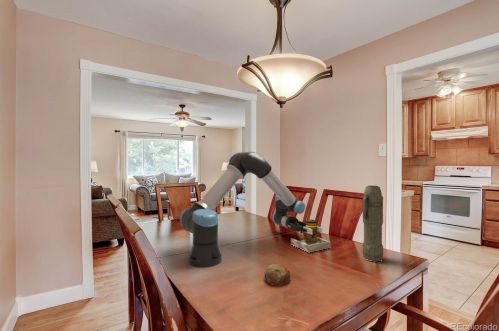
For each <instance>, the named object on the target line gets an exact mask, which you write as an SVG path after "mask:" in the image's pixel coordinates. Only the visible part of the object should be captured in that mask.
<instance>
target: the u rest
mask: <svg viewBox="0 0 499 331" xmlns="http://www.w3.org/2000/svg"><path fill="white" fill-rule="evenodd" d="M317 241H319V243H316V244H312V245H311V244H308V243H305V242H302V241H301V240H297V239H295V238H293V237H291V238H290V246H291V245H293V246H292V247H294V246H295V247H294V248H296V247H297V248H296V249H298V248H300V249H302V250H304V251H303V252H305V251H306V252H305V253H307V252H308V253H307V254H311V253H310V252H313V253H315V252H314V251H318V252H320V251H319V250H322V251H324V250H323V249H327V250H329V249H328V248H330V249H331V241H329V240H326V239H325V238H321V237H318V236H317ZM300 249H299V250H300ZM302 250H301V251H302Z"/></svg>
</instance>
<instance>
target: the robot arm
mask: <svg viewBox="0 0 499 331" xmlns="http://www.w3.org/2000/svg"><path fill="white" fill-rule="evenodd" d="M247 174H253V175H255V177H257V178H258V179H259V180H262V181H263V182H264V183H265V184H266V186H267V187H268V188H269V189H271V191H272V192H273V193H274V194H275V198H274V206H275V207H274V213H273V214H272V217H271V220H272V223H274V224H276V225H277V226H281V227H284V228H286V229H289V230H293V231H295V232H297V233H299V232H300V234H304V233H305V234H306V233H308V234H311V235H312V229H310V228H307V227H306V221H307V220H306V221H305V220H304V222H303V221H301V220H299V219H298V218H297V217H295V216H292V215H288V212H289V213H292V214H296V215H297V214H299V215H301V214H303V213H304V212H305V209H306V204H305V203H304V201H301V200H299V199H297V197H296V196H295V195H294V193H292V192H291V190H290V189H289V188H288V187H287V186H286V185H285V184H284V182H283V181H282V180H281V178H279V176H277V173H275V171H273V167H272V165H271V164H270V163H269V162H268V161H267V160H266V159H265V158H264V157H263V156H262V155H261V154H259V153H257V152H255V151H246V152H245V151H244V152H243V151H242V152H241V151H240V152H237V153H234V154H232V155H231V156H230V158H229V159H228V164H227V165H226V170H225V172H224V173H223V174H222V175H221V176H220V177H219V179H218V180H217V181H216V182H215V183H214V184H213V185H212V187H211V188H210V189H209V190H208V191H207V192H206V194H205V195H204V196H203V197H202V198H201V200H199V201H195V202H194V203H193V204H192V205H191V206H190V207H187V208H185V209H184V210H183V211H182V212H181V214H180V217H179V222H180V225H181V227H182V228H183V229H184V230H185V231H186V232H189V233H191V234H192V246H191V250H190V253H189V256H188V263H189V264H190V265H191V266H194V267H199V268H200V267H201V268H203V267H204V268H207V267H212V266H213V267H214V266H216V265H218V264H220V263H221V262H222V259H223V258H222V253H221V250H220V247H219V234H218V233H219V232H218V231H219V217H218V213H217V212H216V211H215V209H216V208H217V206H218V205H219V204H220V202H222V200H224V198H225V196H226V195H227V194H228V193H229V192H230V191H231V189H232V188H233V187H234V185H236V183H237V182H238V181H239V180H243V179H244V178H245V176H246V175H247ZM317 233H320V234H322V233H323V227H320V226H318V225H317Z"/></svg>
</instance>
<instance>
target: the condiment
mask: <svg viewBox="0 0 499 331" xmlns="http://www.w3.org/2000/svg"><path fill="white" fill-rule="evenodd" d="M317 226H318V225H317V220H316V219H306V227H307V228H310V229H312V235H311V234H308V233H305V239H302V240H301V242H305V243H308V244H311V245H312V244H316V243H319V241H317V237H318V232H317Z"/></svg>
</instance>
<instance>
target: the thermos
mask: <svg viewBox="0 0 499 331" xmlns="http://www.w3.org/2000/svg"><path fill="white" fill-rule="evenodd" d="M363 195H364V196H362V201H361V202H362V208H361V209H362V211H361V212H362V222H363V241H362V254H363V255H362V258H363V257H364V258H365V259H368V260H372V261H381V260H383V261H384V258H383V256H384V245H383V236H382V235H383V224H384V197H383V193H382V190H381V187H380V186H379V185H366V186H365V189H364V192H363ZM365 259H364V260H365Z"/></svg>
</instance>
